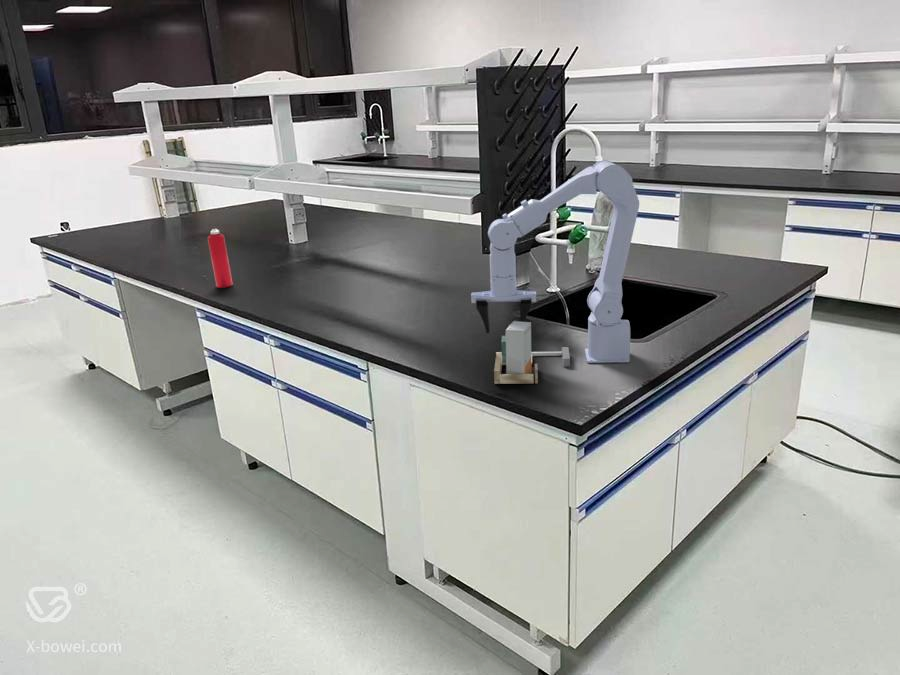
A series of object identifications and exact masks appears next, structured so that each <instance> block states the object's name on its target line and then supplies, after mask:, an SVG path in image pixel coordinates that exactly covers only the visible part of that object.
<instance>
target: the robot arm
mask: <svg viewBox="0 0 900 675" xmlns="http://www.w3.org/2000/svg"><path fill="white" fill-rule="evenodd" d="M597 190H598V191H599V192H601V193H602V194H603V195H605V197H606V199H607V200H608V202H609V203H610V204H611V205H612V207H613V210H612V215H611V220H610V226H609V229H608V230H609V231H608V234H607V238H606V243H605V247H604V249H605V250H604V252H603V256H602V262H601V266H600V270H599V275H598V277H597V278H596V280H595V282H594V286H593V288H592V290H591V291H590V292H589V294H588V295H587V299H586V302H587V306H588V308H589V310H590V311H591V312H590V315H589V316H588V318H587V326H588V327H587V348H584V353H585V358H586V362H587V363H589V364H593V363H594V364H596V363H600V364H601V363H602V364H603V363H605V364H606V363H607V364H609V363H630V361H631V359H630V351H631V325H630V324H631V323H630V321H629V320H628V319H621V318H622V316H623V315H624V314H623V313H624V307H623V304H622V300H623V299H622V298H623V285H622V282H623V278H624V273H625V269H626V264H627V260H628V257H629V252H630V249H631V248H630V247H631V243H632V238H633V236H634V235H633V234H634V230H635V225H636V222H637V217H638V213H639V209H640V200H639V197H638V194H637V192H636V189H635V186H634V183H633V177H632V176H631V175H630V174H629V173H628V171H627V170H625V168H623V166H621V165H618V164H615V163H614V162H613V161H612V160H611V161H610V160H607V159H603V160H599V161H597V162H596V163H594V164H593V165H592V166H591V165H590V166H587V167H585V168H584V169H583V170H581V171H580V172H579V173H576V175H574V176H572V177H571V178H569V179H568V180H567V181H565V182H564V183H563V184H561V185H560V186H558V187H557V188H556V189H554V190H553V191H551V192H550V193H548V194H547V195H545V196H544V197H543V198H541V199H540V200H539V199H532V198H531V199H529V200H528V201H527V199H524V200H522V201H520V204H521V205H520V206H518V207H517V208H516V209H514V210H512V211H511V212H509V213H508V214H507V213H504V214H502V218H498V219H495V220H494V221H492V222H491V223H490V225H489V227H488V231H487V236H488V239H489V242H490V245H489V252H490V254H489V275H490V278H489V281H490V290H486V291H477V292H476V291H475V292H471V294H470V296H471V299H470V300H471V302H470V303H471V304H475V307H476V310H477V312H478V313H479V315H480V318H481V320H482V321H483V322H482V323H483V325H484V328H485V333H486V334H490V328H491V327H490V320H489V319H490V318H489V317H490V316H489V303H492V302H493V303H494V302H495V303H496V302H497V303H500V302H501V303H502V302H504V303H506V302H508V303H509V302H520V303H519V311H520V313H519V314H520V315H519V316H520V318H519V319H520V320H519V322H526V319H527V316H528V314H529V312H530V310H531V307H532V303H536V302H537V291H531V290H519V289H517V267H516V266H517V265H516V264H517V263H516V262H517V260H516V256H517V255H516V252H515V245H516V242H517V239H518V238H522V237H524V236H525V235H527V234H528V233H530V232H532V231H533V230H534V229H536V228H538V227H540V226H541V225H543V224H544V223H546V221H547V217H548V214H549V213H551V212H553V211H554V210H556V209H558V208H559V207H561V206H563V205H564V204H566V203H567V202H570V201H572V200H573V199H575V198H577V197H578V196H580V195H597Z"/></svg>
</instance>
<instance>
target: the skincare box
mask: <svg viewBox="0 0 900 675" xmlns="http://www.w3.org/2000/svg"><path fill="white" fill-rule="evenodd" d="M505 336H506V365H505V367H506V371H505V372H506V373H505V374H532V365H531V352H532V322H531V321H529V322H528V321H525V322H520V320H519V321H518V320H513V321H512V322H511V323H510V324H509V325H508V327H507V328H506V329H505Z"/></svg>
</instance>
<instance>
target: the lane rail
mask: <svg viewBox="0 0 900 675" xmlns="http://www.w3.org/2000/svg"><path fill="white" fill-rule="evenodd" d="M569 350H570V348H569V347H568V346H561V351H531V355H532V357H549V356H550V357H551V356H552V357H555V356H556V357H557V356H558V357H559V356H560V357H561V358H562V367H563V368H568V367H569V368H570V367H571V357H570V351H569ZM498 353H502V351H499V352H498V351H497V352H495V354H496V355H495V357H497V354H498Z"/></svg>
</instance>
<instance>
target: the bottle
mask: <svg viewBox="0 0 900 675" xmlns="http://www.w3.org/2000/svg"><path fill="white" fill-rule="evenodd" d="M209 233H210V235H209V236H207V243H208V248H209V254H210V258H211V259H210V260H211V264H212V270H213V276H214V280H215V287H216V288H218V289H219V288H220V289H222V288H223V289H224V288H229V287H232V286H233V285H234V282H233V278H232V272H231V267H230V263H229V262H230V261H229V256H228V250H227V245H226V239H225V236H224V234H222V233H220V230H219V229H217V228H212V229H211V231H210V232H209Z"/></svg>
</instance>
